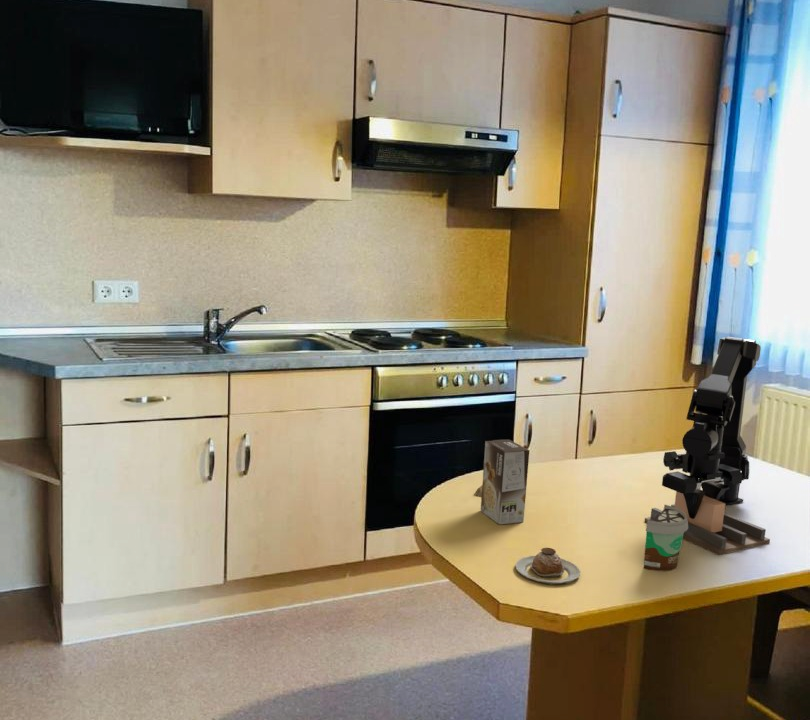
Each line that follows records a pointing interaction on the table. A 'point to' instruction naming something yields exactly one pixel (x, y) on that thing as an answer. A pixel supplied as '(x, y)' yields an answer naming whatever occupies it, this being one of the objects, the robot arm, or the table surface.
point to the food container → (664, 539)
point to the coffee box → (504, 481)
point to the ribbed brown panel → (723, 534)
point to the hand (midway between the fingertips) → (698, 516)
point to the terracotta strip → (704, 512)
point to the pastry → (548, 567)
